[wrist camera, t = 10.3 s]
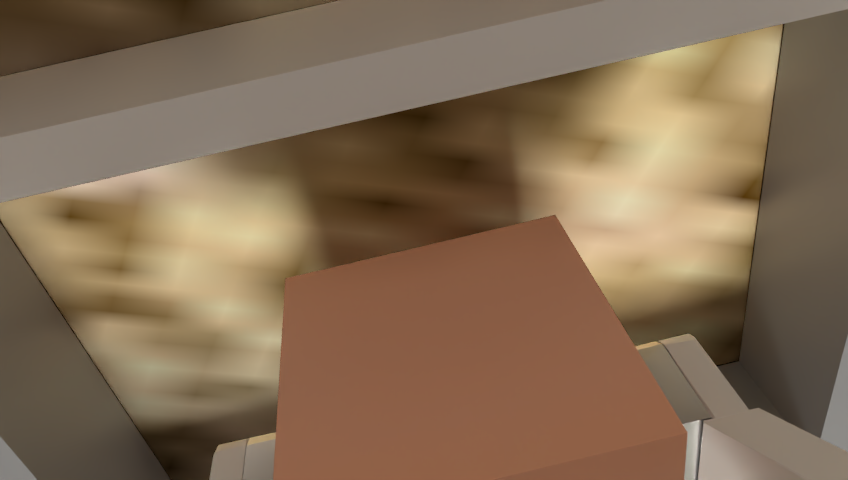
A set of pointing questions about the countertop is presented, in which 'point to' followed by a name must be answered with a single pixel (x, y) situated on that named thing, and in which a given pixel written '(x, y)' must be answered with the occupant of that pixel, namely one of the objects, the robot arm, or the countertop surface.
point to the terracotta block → (467, 369)
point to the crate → (393, 92)
